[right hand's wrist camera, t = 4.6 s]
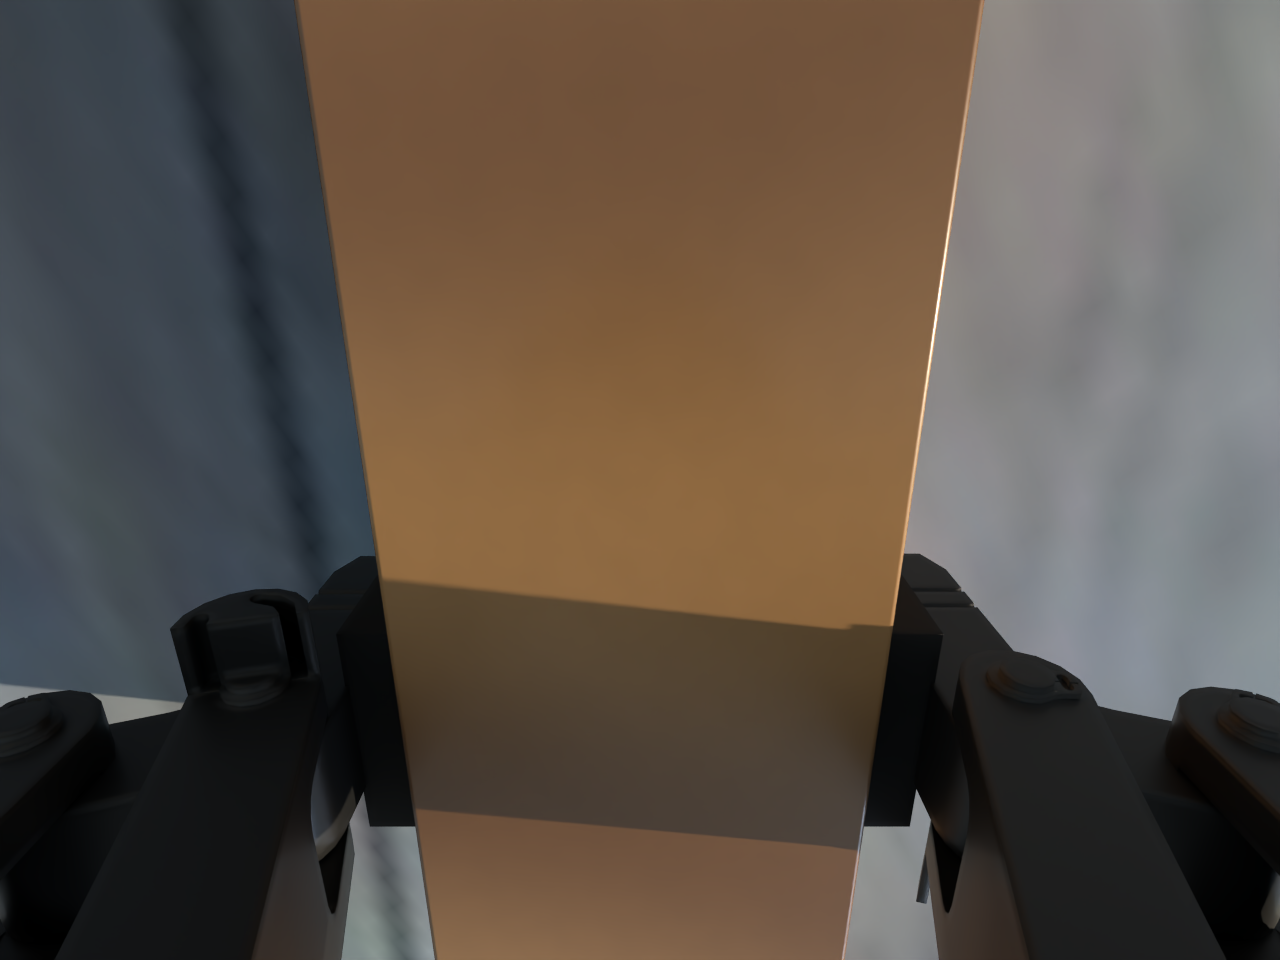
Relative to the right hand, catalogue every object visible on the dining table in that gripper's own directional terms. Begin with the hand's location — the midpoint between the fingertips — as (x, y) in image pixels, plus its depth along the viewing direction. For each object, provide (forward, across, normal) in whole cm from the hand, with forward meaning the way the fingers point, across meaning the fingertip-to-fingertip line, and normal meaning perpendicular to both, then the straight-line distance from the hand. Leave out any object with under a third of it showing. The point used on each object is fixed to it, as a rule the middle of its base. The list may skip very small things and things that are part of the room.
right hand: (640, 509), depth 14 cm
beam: (+1, 0, -22) cm, 22 cm away
